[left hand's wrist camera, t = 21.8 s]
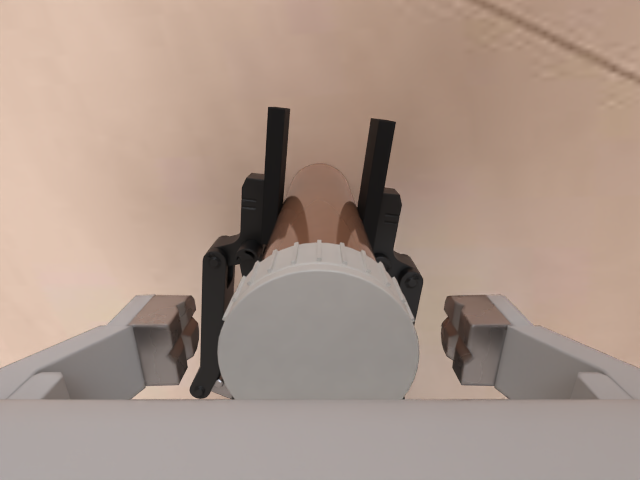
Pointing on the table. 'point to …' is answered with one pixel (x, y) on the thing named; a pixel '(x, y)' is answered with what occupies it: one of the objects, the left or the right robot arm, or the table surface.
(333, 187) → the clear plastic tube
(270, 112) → the right robot arm
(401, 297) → the lid
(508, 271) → the table surface
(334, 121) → the table surface
